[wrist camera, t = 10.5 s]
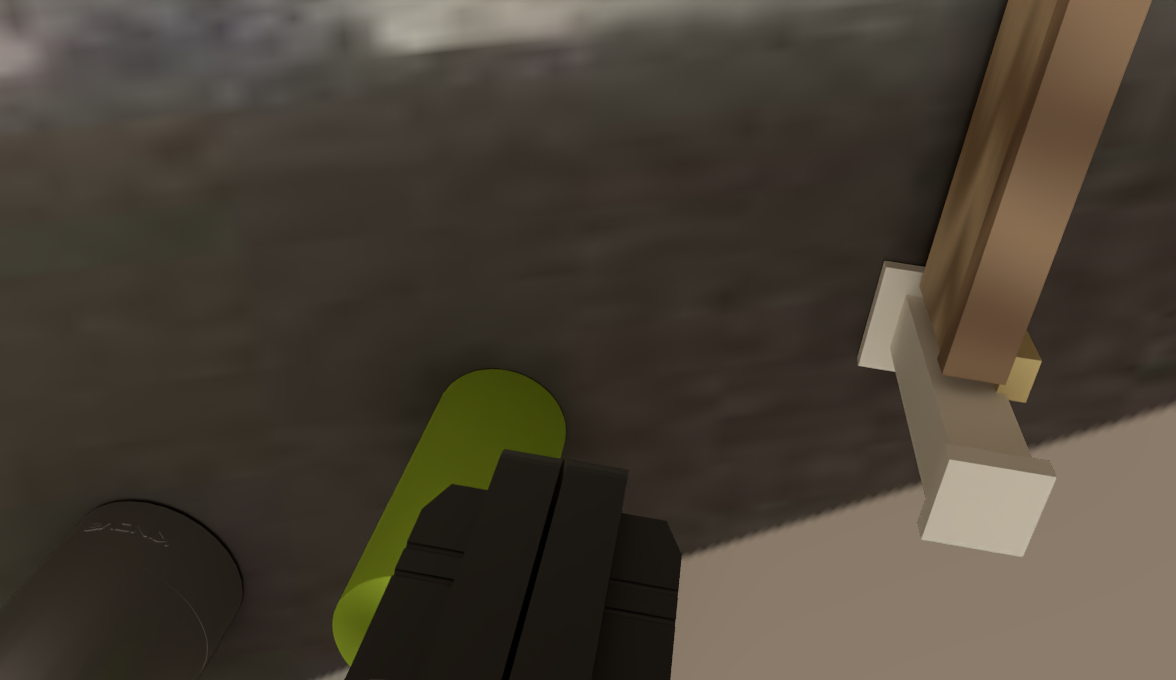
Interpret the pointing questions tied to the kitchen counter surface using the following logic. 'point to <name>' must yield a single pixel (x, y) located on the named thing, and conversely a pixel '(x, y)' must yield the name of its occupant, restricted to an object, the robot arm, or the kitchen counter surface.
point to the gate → (1022, 174)
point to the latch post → (958, 426)
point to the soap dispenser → (449, 475)
